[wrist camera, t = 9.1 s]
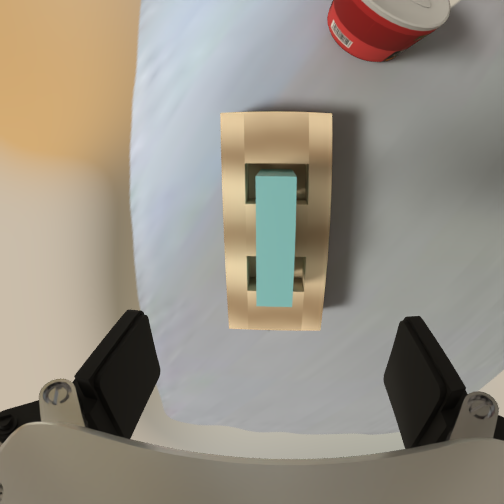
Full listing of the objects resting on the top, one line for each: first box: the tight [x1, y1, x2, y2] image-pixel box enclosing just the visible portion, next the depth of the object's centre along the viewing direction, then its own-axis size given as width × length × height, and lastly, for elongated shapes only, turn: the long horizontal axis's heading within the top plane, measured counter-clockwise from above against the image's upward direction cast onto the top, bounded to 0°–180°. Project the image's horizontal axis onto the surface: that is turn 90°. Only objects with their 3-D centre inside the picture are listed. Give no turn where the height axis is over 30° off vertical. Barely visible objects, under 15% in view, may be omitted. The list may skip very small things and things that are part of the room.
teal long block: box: [255, 169, 297, 307], centre depth 25 cm, size 10×3×7 cm, turn 0°
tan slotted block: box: [221, 112, 332, 330], centre depth 27 cm, size 20×9×4 cm, turn 1°
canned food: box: [327, 0, 450, 62], centre depth 16 cm, size 8×8×11 cm
